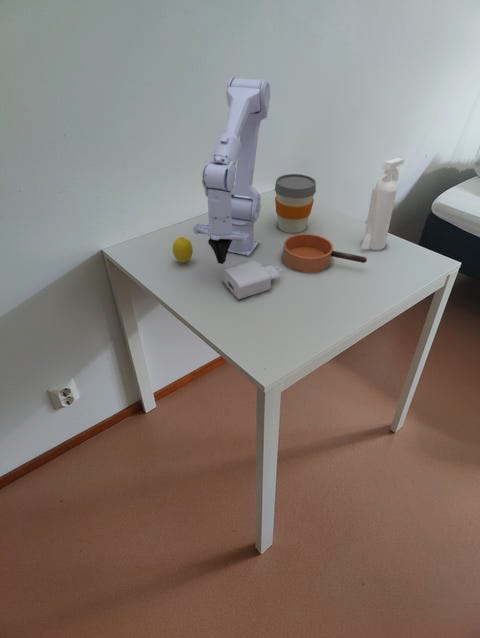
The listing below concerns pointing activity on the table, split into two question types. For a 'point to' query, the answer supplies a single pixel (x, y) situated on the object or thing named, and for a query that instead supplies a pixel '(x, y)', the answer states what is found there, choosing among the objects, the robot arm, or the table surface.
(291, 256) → the pan
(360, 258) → the pan handle
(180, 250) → the lemon
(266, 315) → the table surface
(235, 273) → the charger
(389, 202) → the white spray bottle
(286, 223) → the reusable coffee cup
